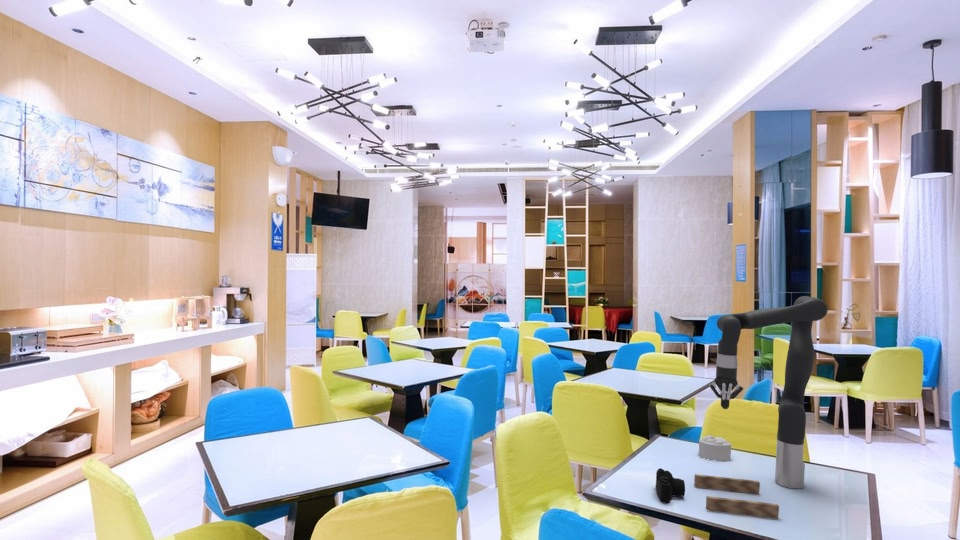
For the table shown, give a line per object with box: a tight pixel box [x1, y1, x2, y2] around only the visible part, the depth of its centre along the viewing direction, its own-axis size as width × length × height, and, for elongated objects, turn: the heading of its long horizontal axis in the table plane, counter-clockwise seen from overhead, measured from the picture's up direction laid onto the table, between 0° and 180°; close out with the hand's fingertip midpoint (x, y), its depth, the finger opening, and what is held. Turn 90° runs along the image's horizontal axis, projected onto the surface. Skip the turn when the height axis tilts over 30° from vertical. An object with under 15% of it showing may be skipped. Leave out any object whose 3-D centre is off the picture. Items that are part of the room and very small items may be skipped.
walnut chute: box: [693, 473, 780, 520], centre depth 192 cm, size 23×21×4 cm
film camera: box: [655, 467, 686, 504], centre depth 195 cm, size 15×10×9 cm, turn 168°
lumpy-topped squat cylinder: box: [698, 434, 732, 462], centre depth 237 cm, size 10×13×9 cm
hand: (724, 408), depth 210 cm, fingers closed
